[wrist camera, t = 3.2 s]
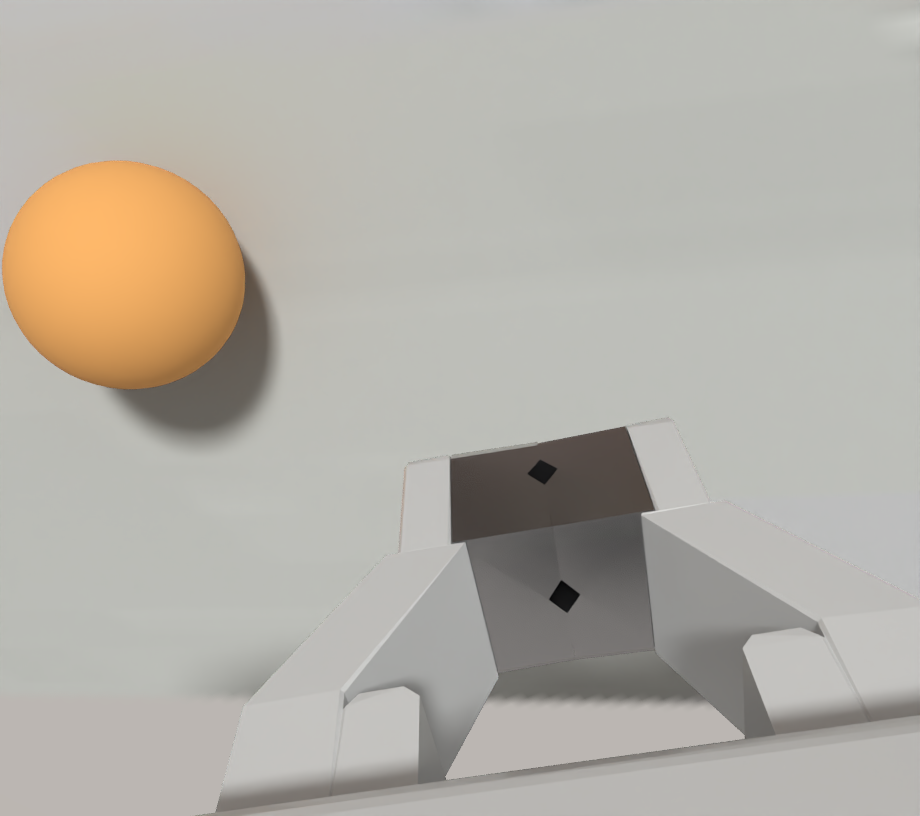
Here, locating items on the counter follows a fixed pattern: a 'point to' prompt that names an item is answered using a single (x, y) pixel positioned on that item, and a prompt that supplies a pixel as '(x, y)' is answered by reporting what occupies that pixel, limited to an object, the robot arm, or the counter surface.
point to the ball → (123, 274)
